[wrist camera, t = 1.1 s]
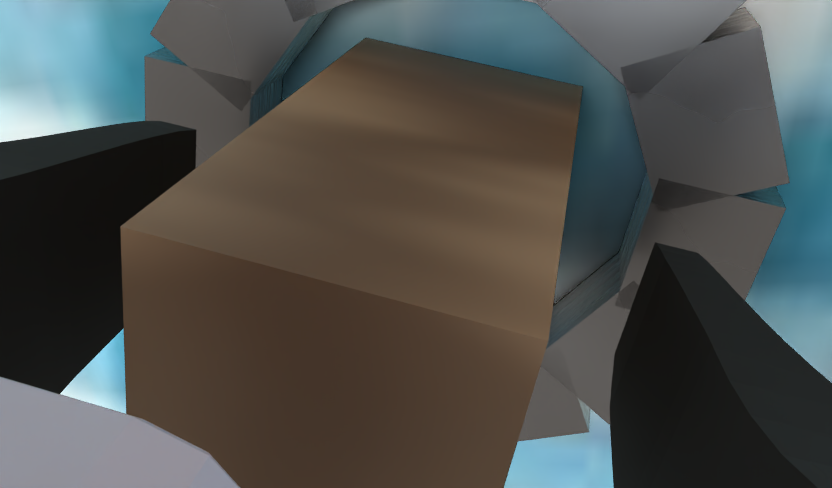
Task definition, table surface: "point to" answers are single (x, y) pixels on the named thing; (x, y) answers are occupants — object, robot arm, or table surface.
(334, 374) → the link block
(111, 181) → the robot arm
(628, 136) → the table surface
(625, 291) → the holder ring
